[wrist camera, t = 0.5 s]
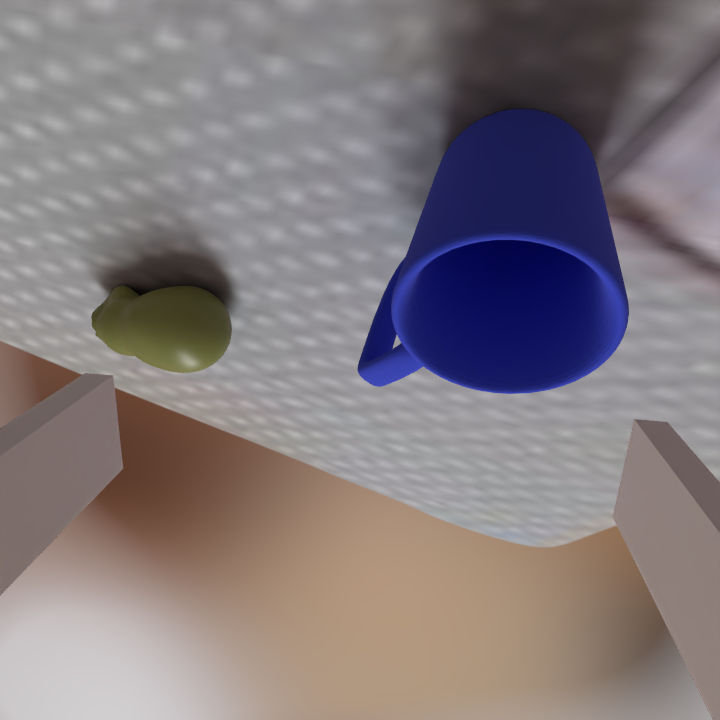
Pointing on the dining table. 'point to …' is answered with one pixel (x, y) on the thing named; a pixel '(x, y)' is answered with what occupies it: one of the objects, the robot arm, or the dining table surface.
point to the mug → (505, 266)
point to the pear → (165, 327)
